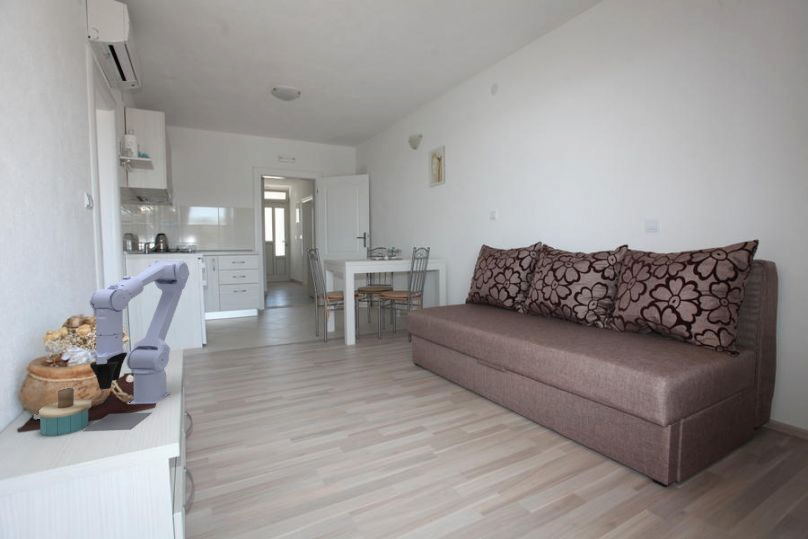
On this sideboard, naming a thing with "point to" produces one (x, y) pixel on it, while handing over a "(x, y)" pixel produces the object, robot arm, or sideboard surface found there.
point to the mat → (118, 422)
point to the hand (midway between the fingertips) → (109, 384)
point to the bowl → (63, 424)
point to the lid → (65, 405)
